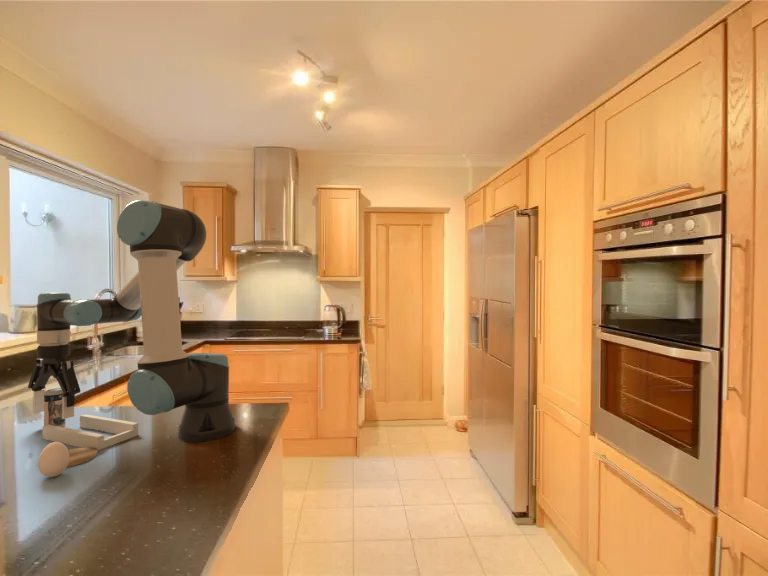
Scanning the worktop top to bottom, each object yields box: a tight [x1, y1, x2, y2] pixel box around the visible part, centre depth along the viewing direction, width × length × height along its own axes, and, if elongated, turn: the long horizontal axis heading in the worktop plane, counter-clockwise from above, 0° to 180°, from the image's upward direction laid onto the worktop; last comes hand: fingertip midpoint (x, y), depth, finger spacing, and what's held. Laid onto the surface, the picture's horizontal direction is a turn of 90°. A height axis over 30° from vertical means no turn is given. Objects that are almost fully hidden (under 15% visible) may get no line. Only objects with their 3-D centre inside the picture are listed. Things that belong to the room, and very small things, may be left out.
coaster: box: [66, 447, 98, 468], centre depth 93 cm, size 10×10×1 cm
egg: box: [37, 441, 70, 478], centre depth 85 cm, size 5×5×8 cm
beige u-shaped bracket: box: [42, 413, 139, 451], centre depth 107 cm, size 23×11×4 cm, turn 70°
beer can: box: [43, 387, 66, 428], centre depth 113 cm, size 5×5×12 cm
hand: (53, 414), depth 113 cm, fingers open, 13 cm apart
